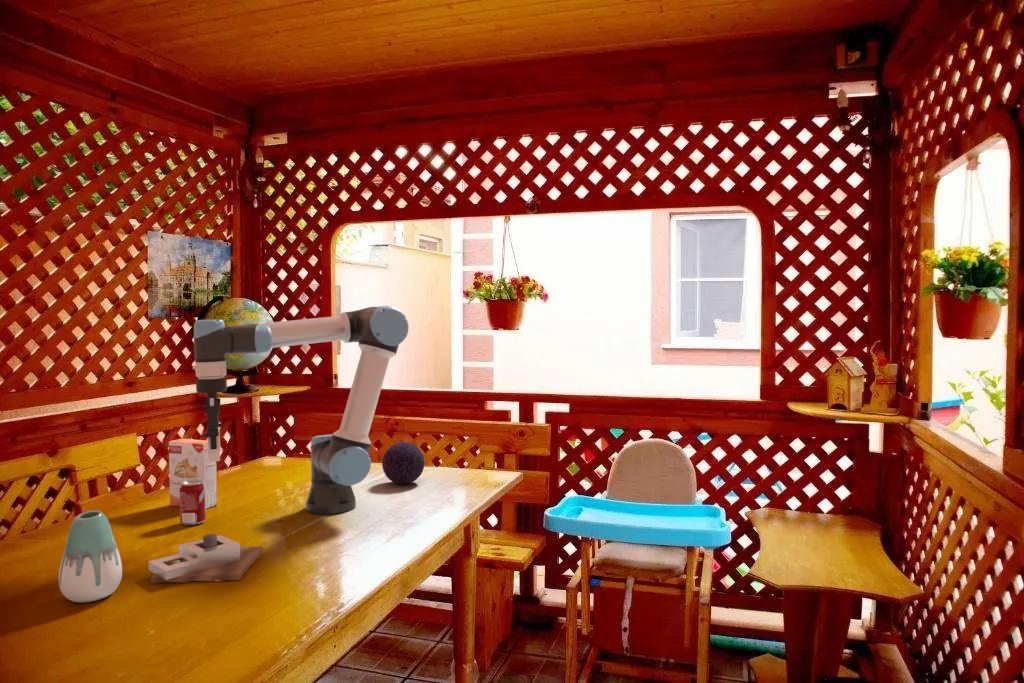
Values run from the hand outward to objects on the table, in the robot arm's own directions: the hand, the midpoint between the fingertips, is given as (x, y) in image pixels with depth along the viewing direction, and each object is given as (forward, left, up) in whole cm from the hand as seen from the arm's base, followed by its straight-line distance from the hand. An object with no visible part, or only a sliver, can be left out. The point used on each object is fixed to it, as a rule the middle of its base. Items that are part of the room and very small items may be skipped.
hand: (214, 456), depth 185 cm
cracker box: (+19, -35, -23) cm, 46 cm away
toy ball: (-45, -59, -23) cm, 77 cm away
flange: (-3, +24, -21) cm, 32 cm away
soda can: (+12, -16, -23) cm, 30 cm away
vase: (+13, +37, -23) cm, 45 cm away
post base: (-6, +21, -22) cm, 31 cm away
